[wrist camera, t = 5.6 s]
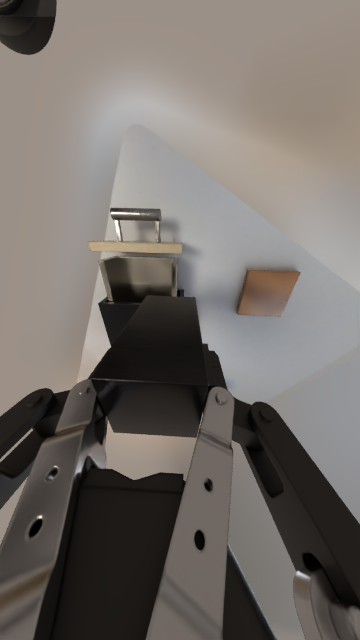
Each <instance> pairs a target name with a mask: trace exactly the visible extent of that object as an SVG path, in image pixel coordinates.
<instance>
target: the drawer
mask: <svg viewBox="0 0 360 640" xmlns="http://www.w3.org/2000/svg"><path fill="white" fill-rule="evenodd" d="M110 213H111V217H112V219H113V220H114V222H115V227H116V233H117V238H118V241H91V242H88V244H89V247H90V250H91V251H109V252H144V253H178V254H181V253H182V247H183V243H176V242H161V239H160V221H161V210H160V209H141V208H111V209H110ZM119 220H135V221H155V227H156V242H140V241H123V239H122V232H121V226H120V221H119ZM99 265H100V269H101V273H102V277H103V280H104V284H105V288H106V292H107V296H108V300H109V302H122V303H142V302H143V300H144V299H145V298H146V296H147V295H155V296H176V297H178V258H171V257H137V256H114V257H110V258H106V259H102V260H99Z"/></svg>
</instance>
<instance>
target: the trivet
mask: <svg viewBox="0 0 360 640" xmlns="http://www.w3.org/2000/svg"><path fill="white" fill-rule="evenodd" d="M299 275H300V272H298V271H272V270H247V274H246V278H245V282H244V285H243V289H242V293H241V297H240V301H239V305H238V308H237V312H236V314H237V315H249V316H277V317H281V315H282V312H283V310H284V308H285V306H286V304H287V301H288V299H289V297H290V295H291V293H292V290H293V288H294V286H295V284H296V281H297V279H298V277H299Z"/></svg>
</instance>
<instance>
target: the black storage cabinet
mask: <svg viewBox="0 0 360 640" xmlns="http://www.w3.org/2000/svg"><path fill="white" fill-rule="evenodd" d="M178 297H184V290H178ZM98 305H99V308H100V311H101V314H102V318H103V321H104V324H105V328H106V331H107V334H108V338H109V341H110V344H111V347H112V345H113V344H114V342H115V341H116V339H117V338H118V337H119V335H120V334H121V332H122V331H123V329H124V328H125V326H126V325H127V324H128V322H129V321H130V319H131V318H132V316H133V315H134V313H135V312H136V311H137V309H138V308H139V306H140V305H141V303H122V302H109V300H108V297H106V298H105V299H104V300H102V301H101V302H100V303H98Z"/></svg>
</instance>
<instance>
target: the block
mask: <svg viewBox="0 0 360 640" xmlns="http://www.w3.org/2000/svg"><path fill="white" fill-rule="evenodd" d="M90 380H91V383H92V385H93V387H94V389H95V391H96V394H97V396H98V398H99V400H100V403H101V405H102V407H103V409H104V412H105V414H106V416H107V418H108V420H109V423H110V425H111V427H112V430H113V432H116V433H131V434H148V435H163V436H181V437H195V438H196V437H197V434H198V430H199V426H200V421H201V417H202V412H203V408H204V404H205V399H206V395H207V390H208V386H209V383H208V377H207V371H206V364H205V358H204V351H203V345H202V338H201V332H200V325H199V319H198V313H197V306H196V300H195V297H176V296H155V295H147V296H146V298H145V299H144V300H143V302H142V303H141V305H140V306H139V308H138V309H137V311H136V312H135V313H134V315H133V316H132V318H131V319H130V321H129V322H128V324H127V325H126V326H125V328H124V329H123V331H122V332H121V334H120V335H119V337H118V338H117V339H116V341H115V342H114V344H113V345H112V347H111V348H110V350H109V351H108V352H107V354H106V355H105V357H104V358H103V360H102V361H101V363H100V364H99V365H98V367H97V368H96V370H95V371H94V373H93V374H92V376H91V377H90Z"/></svg>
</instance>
